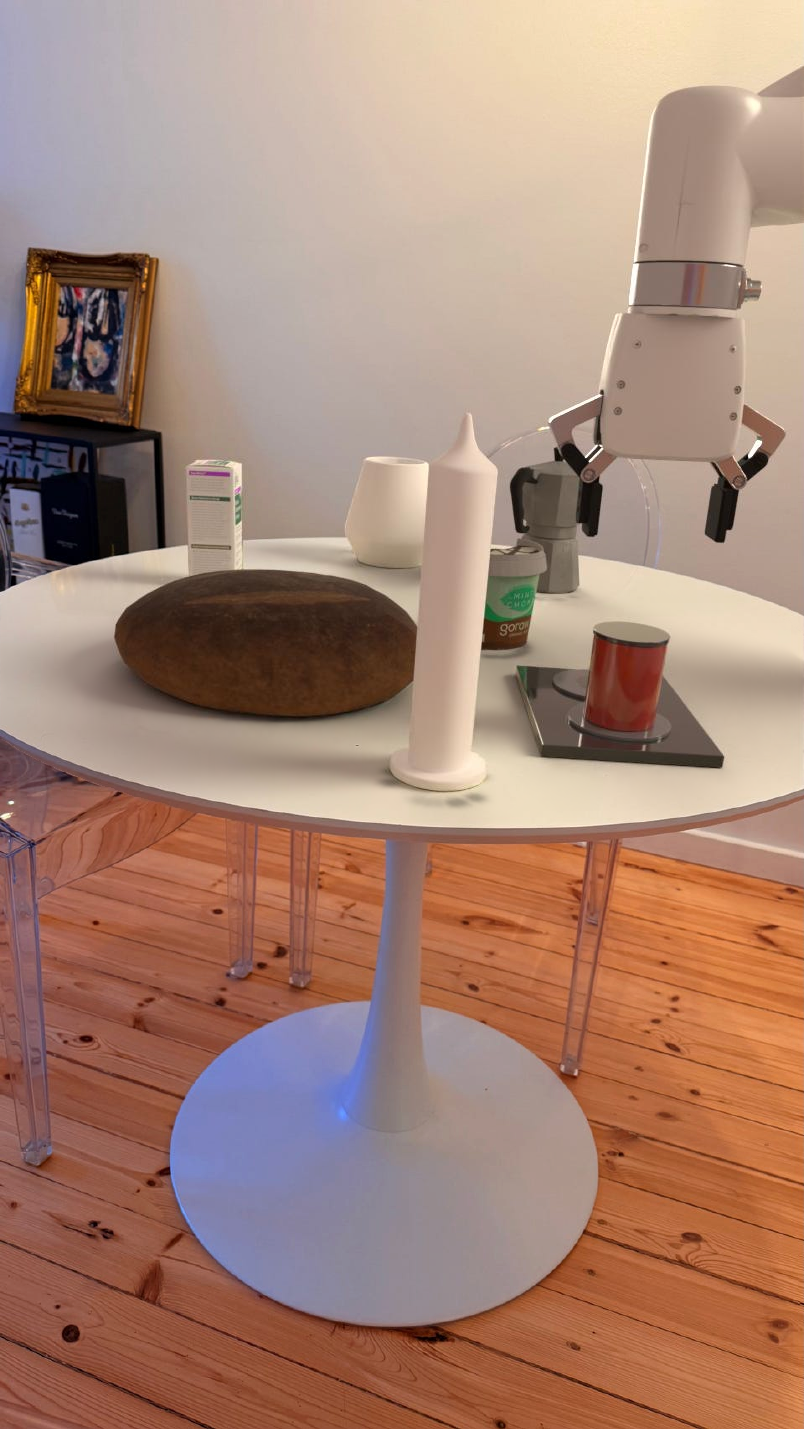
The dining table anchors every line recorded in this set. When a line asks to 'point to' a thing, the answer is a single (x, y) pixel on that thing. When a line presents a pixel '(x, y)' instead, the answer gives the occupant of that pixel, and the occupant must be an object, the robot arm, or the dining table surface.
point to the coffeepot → (549, 519)
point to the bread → (270, 642)
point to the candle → (450, 620)
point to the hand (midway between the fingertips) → (651, 536)
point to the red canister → (625, 675)
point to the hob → (570, 735)
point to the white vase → (389, 512)
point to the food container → (511, 594)
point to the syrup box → (214, 516)
